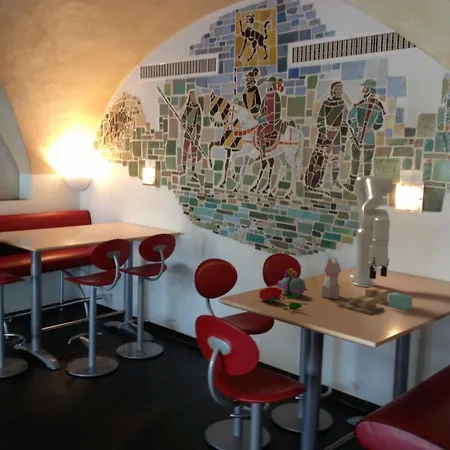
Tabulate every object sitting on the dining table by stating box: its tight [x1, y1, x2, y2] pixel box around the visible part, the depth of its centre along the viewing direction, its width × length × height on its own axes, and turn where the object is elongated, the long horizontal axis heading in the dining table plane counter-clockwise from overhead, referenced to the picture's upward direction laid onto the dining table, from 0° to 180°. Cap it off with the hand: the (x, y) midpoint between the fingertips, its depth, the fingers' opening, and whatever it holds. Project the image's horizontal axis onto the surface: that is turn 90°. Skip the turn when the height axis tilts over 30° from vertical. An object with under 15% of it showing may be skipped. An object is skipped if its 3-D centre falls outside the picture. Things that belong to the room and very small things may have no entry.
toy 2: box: [320, 257, 342, 300], centre depth 277 cm, size 9×18×20 cm, turn 161°
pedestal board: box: [340, 294, 385, 316], centre depth 261 cm, size 16×12×5 cm
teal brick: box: [387, 291, 414, 311], centre depth 265 cm, size 9×6×6 cm, turn 44°
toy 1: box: [277, 268, 309, 295], centre depth 281 cm, size 11×14×15 cm
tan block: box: [364, 286, 389, 305], centre depth 274 cm, size 9×6×6 cm, turn 43°
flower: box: [258, 286, 309, 310], centre depth 260 cm, size 9×9×30 cm
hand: (378, 277), depth 272 cm, fingers open, 9 cm apart
